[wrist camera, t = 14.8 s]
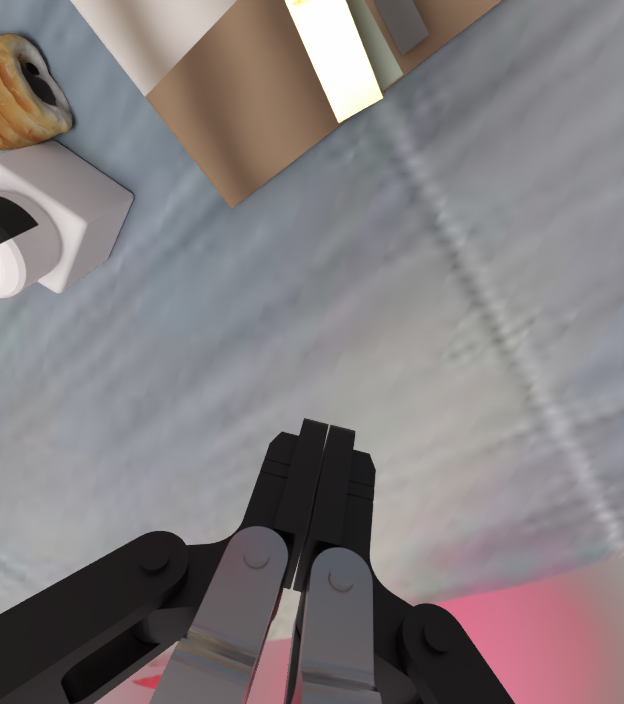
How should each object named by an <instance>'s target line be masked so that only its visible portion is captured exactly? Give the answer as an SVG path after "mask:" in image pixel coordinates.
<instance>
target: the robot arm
mask: <svg viewBox="0 0 624 704" xmlns="http://www.w3.org/2000/svg"><path fill="white" fill-rule="evenodd" d="M328 425H329V424H325V423H321V422H318V421H314V420H310V419H306V418H304V421H303V424H302V428H301V431H300V435H299V436H297V435H293V434H289V433H285V432H281V433H280V434H279V435H278V436H277V437H276V438H275V439H274V440H273V441H272V442H271V443H270V444H269V447H268V450H267V453H266V456H265V459H264V462H263V464H262V467H261V470H260V474H259V476H258V479H257V482H256V484H255V487H254V490H253V493H252V496H251V499H250V502H249V504H248V507H247V510H246V513H245V516H244V519H243V521H242V523H241V525H240V526H239V528H238V529H237V530H236V531H235V533H233V534H232V535H231V536H229V537H228V538H226V539H224V540H222V541H220V542H216V543H211V544H200V545H186V544H185V543H184V541H183V540H182V539H181V538H180V537H179V536H177V535H175V534H173V533H171V532H167V531H154V532H150V533H146V534H144V535H142V536H140V537H138V538H136V539H134V540H133V541H131V542H129V543H127V544H125V545H124V546H122V547H120V548H118V549H116V550H115V551H113V552H111V553H109V554H107V555H106V556H104V557H102V558H100V559H98V560H97V561H95V562H93V563H91V564H89V565H88V566H86V567H84V568H82V569H80V570H79V571H77V572H75V573H73V574H71V575H70V576H68V577H66V578H64V579H63V580H61V581H59V582H57V583H55V584H54V585H52V586H50V587H48V588H46V589H45V590H43V591H41V592H39V593H37V594H36V595H34V596H32V597H30V598H28V599H27V600H25V601H23V602H21V603H19V604H18V605H16V606H14V607H12V608H10V609H9V610H7V611H5V612H3V613H1V614H0V704H94V703H95V702H96V701H97V700H99V699H100V698H102V697H103V696H104V695H106V694H107V693H108V692H110V691H111V690H112V689H114V688H115V687H116V686H118V685H119V684H120V683H122V682H123V681H125V680H126V679H127V678H129V677H130V676H131V675H133V674H134V673H135V672H137V671H138V670H139V669H141V668H142V667H143V666H145V665H146V664H147V663H149V662H150V661H151V660H153V659H154V658H155V657H157V656H158V655H159V654H161V653H162V652H164V651H165V650H166V649H168V648H169V647H170V646H172V645H173V644H174V643H175V642H176V641H179V642H178V644H177V646H176V647H175V649H174V651H173V653H172V655H171V657H170V659H169V662H168V664H167V666H166V668H165V670H164V672H163V675H162V677H161V679H160V681H159V683H158V685H157V687H156V690H155V692H154V694H153V696H152V699H151V700H150V703H149V704H246V703H247V700H248V697H249V693H250V690H251V687H252V683H253V680H254V677H255V674H256V671H257V668H258V665H259V661H260V658H261V655H262V652H263V649H264V645H265V642H266V639H267V636H268V633H269V629H270V626H271V623H272V621H273V620H274V618H275V616H276V614H277V611H278V607H279V604H280V600H281V596H282V592H283V589H284V588H287V589H290V588H291V585H292V581H293V578H294V574H295V571H296V567H297V564H298V568H297V573H296V577H295V582H294V587H293V590H296V591H299V592H301V596H300V601H299V606H298V611H297V615H296V618H295V621H294V625H293V632H292V640H291V648H290V657H289V664H288V672H287V680H286V688H285V697H284V704H515V703H514V702H513V700H512V699H511V697H510V696H509V694H508V693H507V691H506V690H505V688H504V687H503V685H502V684H501V683H500V681H499V680H498V678H497V677H496V675H495V674H494V673H493V671H492V670H491V668H490V667H489V665H488V664H487V663H486V661H485V659H484V658H483V657H482V655H481V654H480V652H479V651H478V650H477V648H476V646H475V645H474V644H473V642H472V641H471V639H470V638H469V636H468V635H467V633H466V632H465V631H464V629H463V628H462V626H461V625H460V623H459V622H458V621H457V620H456V619H455V617H453V615H451V614H450V613H449V612H448V611H447V610H445V609H443V608H441V607H440V606H437V605H434V604H428V603H424V604H419V605H416V606H414V607H413V606H411V605H410V604H408V603H407V602H405V601H404V600H402V599H401V598H399V597H397V596H396V595H394V594H393V593H391V592H390V591H389V590H387V589H386V588H385V587H384V586H383V585H382V584H381V582H380V581H379V580H378V579H377V577H376V575H375V574H374V571H373V569H372V566H371V563H370V541H371V527H372V513H373V500H374V486H375V473H376V469H375V467H374V464H373V462H372V459H371V456H370V454H368V453H364V452H361V451H357V450H353V447H354V439H355V431H354V430H350V429H346V428H342V427H338V426H334V425H330V428H329V432H328V436H327V439H326V435H327V430H328ZM325 439H326V443H325ZM324 444H325V447H324ZM323 449H324V450H323ZM300 553H301V554H300ZM299 556H300V558H299ZM298 560H299V563H298Z"/></svg>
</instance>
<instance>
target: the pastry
mask: <svg viewBox="0 0 624 704" xmlns="http://www.w3.org/2000/svg"><path fill="white" fill-rule="evenodd" d="M72 118H73V117H72V114H71V113H70V106H69V104H68V102H67V99H66V97H65V95H64V93H63V92H62V91H61V90H60V88H59V86H58V85H57V83H56V82H55V81H54V80H53V79H52V77H51V76H50V75H49V73H48V70H47V67H46V64H45V62H44V60H43V58H42V56H41V55H40V53H39V51H38V50H37V48H36V47H34V46H33V45H32V44H31V43H30V42H29V41H27V40H26V39H25V38H23V37H20V36H18V35H15V34H11V33H7V34H6V35H0V150H3V151H5V150H11V149H15V148H16V149H21V148H25V147H28V146H32V145H36V144H37V143H40V142H43V141H45V140H47V139H50V138H52V137H54V136H56V135H58V134H60V133H67V132H68V131H69V130H70V129H71V128H72Z"/></svg>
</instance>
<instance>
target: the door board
mask: <svg viewBox="0 0 624 704" xmlns="http://www.w3.org/2000/svg"><path fill="white" fill-rule="evenodd" d="M500 1H502V0H348V2H349V4H350V7H351V9H352V12H353V15H354V17H355V20H356V22H357V25H358V28H359V30H360V33H361V36H362V38H363V41H364V43H365V46H366V49H367V51H368V54H369V56H370V59H371V62H372V64H373V67H374V69H375V72H376V75H377V77H378V80H379V82H380V85H381V88H382V90H383V92H384V91H385V90H386V89H388V88H389V87H390V86H392V85H393V84H394V83H395V82H397V81H398V80H399V79H401V78H402V77H403V76H405V75H406V74H407V73H408V72H410V71H411V70H412V69H414V68H415V67H416V66H417V65H419V64H420V63H421V62H423V61H424V60H425V59H427V58H428V57H429V56H430V55H432V54H433V53H434V52H436V51H437V50H438V49H439V48H441V47H442V46H443V45H445V44H446V43H447V42H449V41H450V40H451V39H452V38H454V37H455V36H456V35H458V34H459V33H460V32H462V31H463V30H464V29H465V28H467V27H468V26H469V25H471V24H472V23H473V22H474V21H476V20H477V19H478V18H480V17H481V16H482V15H484V14H485V13H486V12H487V11H489V10H490V9H491V8H493V7H494V6H495V5H497V4H498V3H499V2H500ZM71 2H72V3H73V4H74V5H75V7H76V8H77V9H78V11H79V12H80V13H81V15H82V16H83V17H84V18H85V20H86V21H87V22H88V24H89V25H90V26H91V27H92V29H93V30H94V31H95V33H96V34H97V35H98V37H99V38H100V39H101V40H102V42H103V43H104V44H105V46H106V47H107V48H108V49H109V51H110V52H111V53H112V55H113V56H114V57H115V59H116V60H117V61H118V62H119V64H120V65H121V66H122V68H123V69H124V70H125V72H126V73H127V74H128V75H129V77H130V78H131V79H132V81H133V82H134V83H135V84H136V86H137V87H138V88H139V90H140V91H141V92H142V94H143V95H144V96H145V97H146V99H147V100H148V101H149V103H150V104H151V105H152V106H153V108H154V109H155V110H156V112H157V113H158V114H159V116H160V117H161V118H162V119H163V121H164V122H165V123H166V125H167V126H168V127H169V129H170V130H171V131H172V132H173V134H174V135H175V136H176V138H177V139H178V140H179V141H180V143H181V144H182V145H183V147H184V148H185V149H186V151H187V152H188V153H189V154H190V156H191V157H192V158H193V160H194V161H195V162H196V163H197V165H198V166H199V167H200V169H201V170H202V171H203V173H204V174H205V175H206V176H207V178H208V179H209V180H210V182H211V183H212V184H213V186H214V187H215V188H216V189H217V191H218V192H219V193H220V195H221V196H222V197H223V198H224V200H225V201H226V202H227V204H228V205H229V206H230V208H231V209H232V208H233V207H235V206H236V205H237V204H239V203H240V202H241V201H243V200H244V199H245V198H246V197H248V196H249V195H250V194H252V193H253V192H254V191H255V190H257V189H258V188H259V187H261V186H262V185H263V184H265V183H266V182H267V181H268V180H270V179H271V178H272V177H274V176H275V175H276V174H278V173H279V172H280V171H281V170H283V169H284V168H285V167H287V166H288V165H289V164H290V163H292V162H293V161H294V160H296V159H297V158H298V157H300V156H301V155H302V154H303V153H305V152H306V151H307V150H309V149H310V148H311V147H312V146H314V145H315V144H316V143H318V142H319V141H320V140H322V139H323V138H324V137H325V136H327V135H328V134H329V133H331V132H332V131H333V130H335V129H336V128H337V127H338V126H340V125H341V124H342V123H344V122H345V121H346V120H347V119H349V118H350V117H351V116H350V117H348V118H347V119H345V120H343V121H341V122H338V120H337V118H336V116H335V113H334V111H333V109H332V106H331V104H330V102H329V100H328V97H327V95H326V93H325V91H324V88H323V86H322V84H321V81H320V79H319V77H318V75H317V72H316V70H315V68H314V65H313V63H312V61H311V59H310V56H309V54H308V52H307V50H306V47H305V45H304V43H303V40H302V38H301V36H300V34H299V31H298V29H297V27H296V25H295V22H294V20H293V18H292V15H291V13H290V11H289V9H288V6H287V4H286V2H285V0H71ZM352 116H353V115H352Z"/></svg>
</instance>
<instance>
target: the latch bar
mask: <svg viewBox="0 0 624 704" xmlns="http://www.w3.org/2000/svg"><path fill="white" fill-rule="evenodd" d="M285 2H286V4H287V6H288V9H289V11H290V13H291V15H292V18H293V20H294V22H295V25H296V27H297V29H298V31H299V34H300V36H301V38H302V40H303V43H304V45H305V47H306V50H307V52H308V54H309V56H310V59H311V61H312V63H313V65H314V68H315V70H316V72H317V75H318V77H319V79H320V81H321V84H322V86H323V88H324V91H325V93H326V95H327V97H328V100H329V102H330V104H331V106H332V109H333V111H334V113H335V116H336V118H337V120H338V122H341V121H343V120H345V119H347V118H348V117H350V116H352V115H354V114H355V113H357V112H359V111H361V110H362V109H364V108H366V107H368V106H370V105H371V104H373V103H375V102H377V101H378V100H380V99H382V98H383V96H384V93H383V90H382V88H381V85H380V82H379V80H378V77H377V75H376V72H375V69H374V67H373V64H372V62H371V59H370V56H369V54H368V51H367V49H366V46H365V43H364V41H363V38H362V36H361V33H360V30H359V28H358V25H357V22H356V20H355V17H354V15H353V12H352V9H351V7H350V4H349V2H348V0H285Z"/></svg>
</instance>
